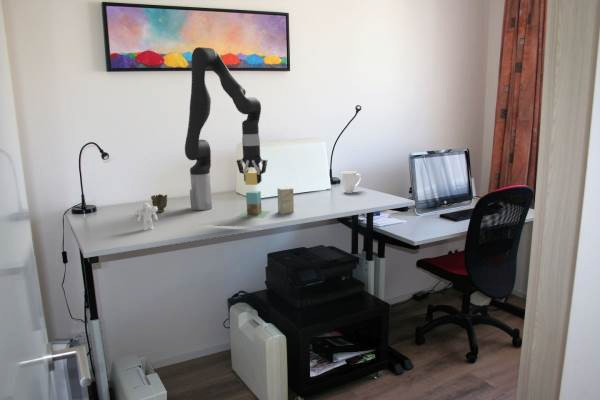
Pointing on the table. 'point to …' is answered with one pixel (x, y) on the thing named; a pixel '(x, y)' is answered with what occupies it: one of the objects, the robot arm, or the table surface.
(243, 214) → the plate
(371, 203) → the table surface
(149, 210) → the flower shoulder figurine
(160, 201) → the cup
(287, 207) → the skincare box
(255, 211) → the walnut brick
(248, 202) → the teal brick
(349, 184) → the mug
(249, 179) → the mustard brick
